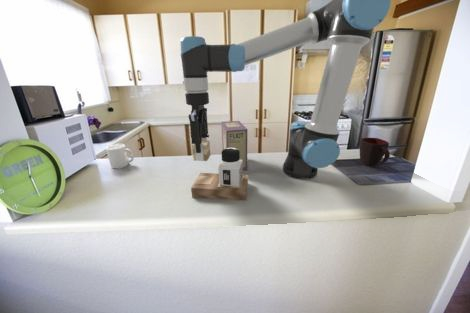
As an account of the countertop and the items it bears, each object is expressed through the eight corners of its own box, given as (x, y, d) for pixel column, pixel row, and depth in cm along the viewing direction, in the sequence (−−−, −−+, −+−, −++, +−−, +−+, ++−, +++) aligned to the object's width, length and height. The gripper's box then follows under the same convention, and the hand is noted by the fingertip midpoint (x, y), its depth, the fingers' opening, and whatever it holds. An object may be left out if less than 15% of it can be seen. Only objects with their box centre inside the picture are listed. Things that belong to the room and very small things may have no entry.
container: (239, 187, 73) (239, 154, 68) (219, 185, 74) (217, 153, 69) (242, 177, 80) (242, 146, 75) (223, 175, 81) (222, 145, 76)
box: (247, 170, 94) (247, 129, 86) (228, 172, 93) (226, 130, 85) (239, 157, 109) (239, 120, 101) (223, 158, 108) (221, 121, 100)
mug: (370, 159, 103) (376, 137, 99) (392, 171, 91) (401, 146, 86) (352, 160, 102) (357, 138, 98) (372, 173, 90) (379, 148, 85)
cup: (117, 161, 106) (112, 143, 102) (139, 161, 106) (135, 143, 102) (107, 168, 99) (101, 149, 95) (131, 168, 98) (126, 149, 94)
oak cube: (210, 155, 77) (209, 140, 74) (207, 161, 72) (205, 145, 70) (197, 155, 77) (196, 140, 75) (193, 160, 73) (192, 144, 70)
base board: (247, 183, 84) (247, 174, 82) (245, 200, 73) (245, 190, 71) (201, 181, 86) (200, 172, 84) (192, 197, 75) (190, 187, 73)
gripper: (194, 89, 74) (199, 148, 83) (174, 94, 58) (183, 167, 67) (214, 89, 73) (217, 148, 82) (200, 94, 57) (205, 168, 66)
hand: (202, 157), depth 75 cm, fingers closed on oak cube, 5 cm apart
